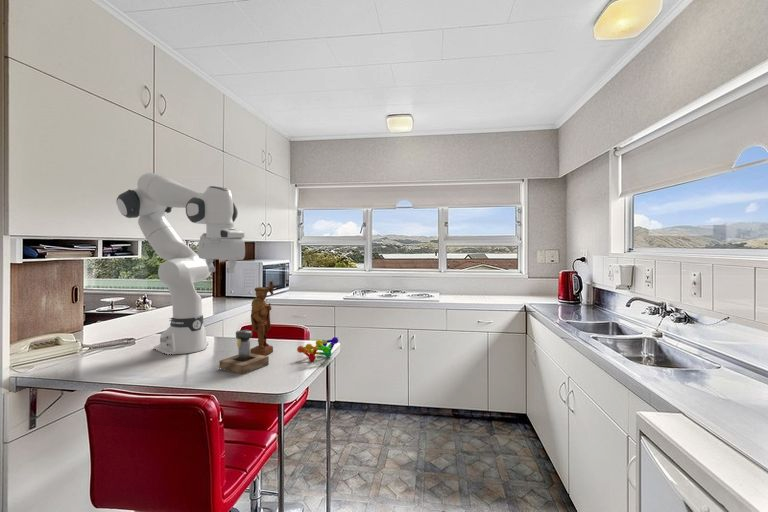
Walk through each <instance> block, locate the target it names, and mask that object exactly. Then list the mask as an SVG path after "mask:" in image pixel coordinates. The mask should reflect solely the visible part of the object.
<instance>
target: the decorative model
mask: <svg viewBox="0 0 768 512" xmlns="http://www.w3.org/2000/svg"><path fill="white" fill-rule="evenodd" d="M338 343H339V338H338V337H337V336H334V337H332V338H331V339H326V340H325V339H316V340H315V346H314V345H313V344H311V343H307V344H306V345H305V346H303V345H299V346H298V347H297V348H296V351H297V353H299V354H301V353H303V354H304V355H306V356H307V357H308V360H309V362H314V361H315V360H316V355H317V356H318V355H319V356H320V355H321V356H325V358H330V357H331V356H332V350H333V348H334V346H335V345H337V344H338Z"/></svg>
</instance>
